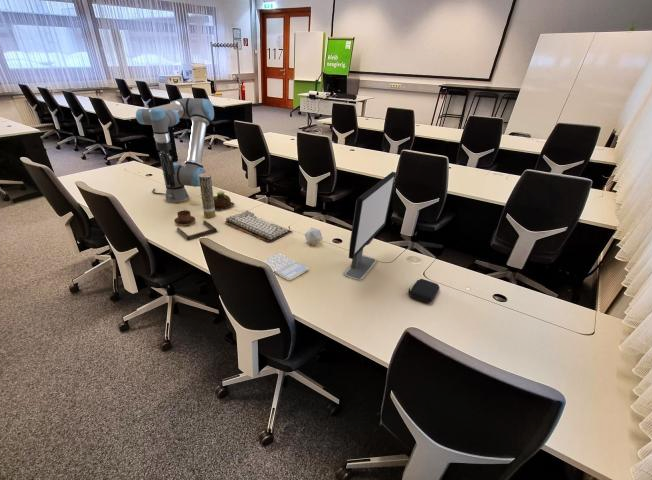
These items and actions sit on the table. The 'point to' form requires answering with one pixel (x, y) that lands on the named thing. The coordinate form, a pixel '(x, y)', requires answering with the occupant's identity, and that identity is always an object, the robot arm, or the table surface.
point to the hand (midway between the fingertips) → (171, 185)
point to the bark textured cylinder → (207, 195)
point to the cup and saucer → (184, 218)
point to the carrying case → (424, 290)
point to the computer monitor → (368, 224)
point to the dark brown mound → (222, 201)
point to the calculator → (285, 266)
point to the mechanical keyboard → (256, 226)
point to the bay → (212, 229)
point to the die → (313, 236)
